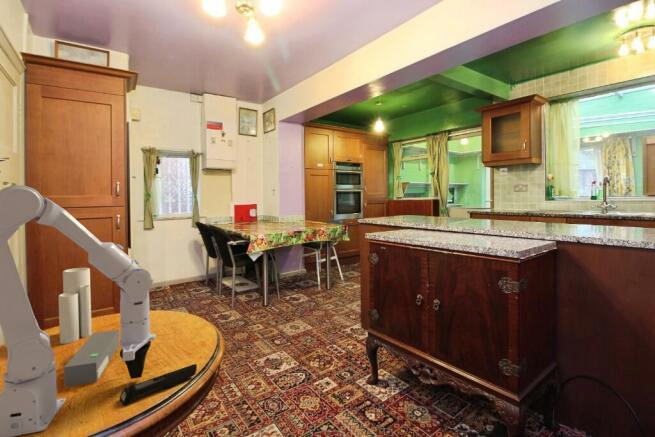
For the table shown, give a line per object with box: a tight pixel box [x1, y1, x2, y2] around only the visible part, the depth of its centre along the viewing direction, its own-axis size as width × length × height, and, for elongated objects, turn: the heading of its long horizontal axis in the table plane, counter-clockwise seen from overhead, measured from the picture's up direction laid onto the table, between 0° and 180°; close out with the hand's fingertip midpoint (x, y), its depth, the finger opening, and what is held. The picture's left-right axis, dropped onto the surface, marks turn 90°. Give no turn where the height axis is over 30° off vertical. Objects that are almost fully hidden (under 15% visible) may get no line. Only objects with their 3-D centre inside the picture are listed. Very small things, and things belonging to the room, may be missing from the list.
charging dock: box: [63, 329, 120, 388], centre depth 81 cm, size 20×6×5 cm, turn 21°
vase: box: [58, 267, 92, 345], centre depth 97 cm, size 11×7×20 cm, turn 30°
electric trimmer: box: [119, 363, 198, 406], centre depth 70 cm, size 4×16×3 cm, turn 135°
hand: (136, 376), depth 73 cm, fingers closed
